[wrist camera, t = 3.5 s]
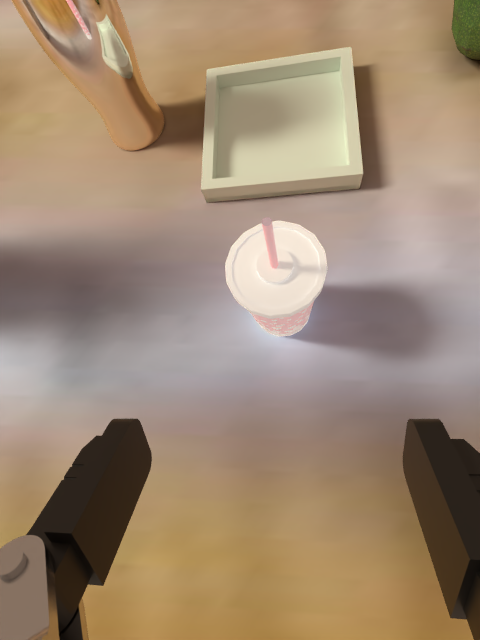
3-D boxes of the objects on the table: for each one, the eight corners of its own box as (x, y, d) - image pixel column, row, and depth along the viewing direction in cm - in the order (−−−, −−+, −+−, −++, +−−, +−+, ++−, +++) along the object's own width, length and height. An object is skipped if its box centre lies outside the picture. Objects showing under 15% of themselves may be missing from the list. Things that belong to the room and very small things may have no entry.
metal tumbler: (181, 121, 37) (104, -67, 22) (133, 166, 36) (22, 3, 22) (142, 90, 39) (48, -99, 24) (95, 132, 38) (-28, -37, 24)
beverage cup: (317, 349, 28) (331, 288, 15) (242, 342, 29) (192, 280, 16) (322, 277, 30) (339, 163, 16) (251, 274, 31) (212, 165, 17)
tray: (206, 202, 33) (201, 189, 32) (211, 87, 37) (206, 69, 35) (359, 188, 31) (363, 173, 29) (348, 67, 35) (351, 46, 33)
